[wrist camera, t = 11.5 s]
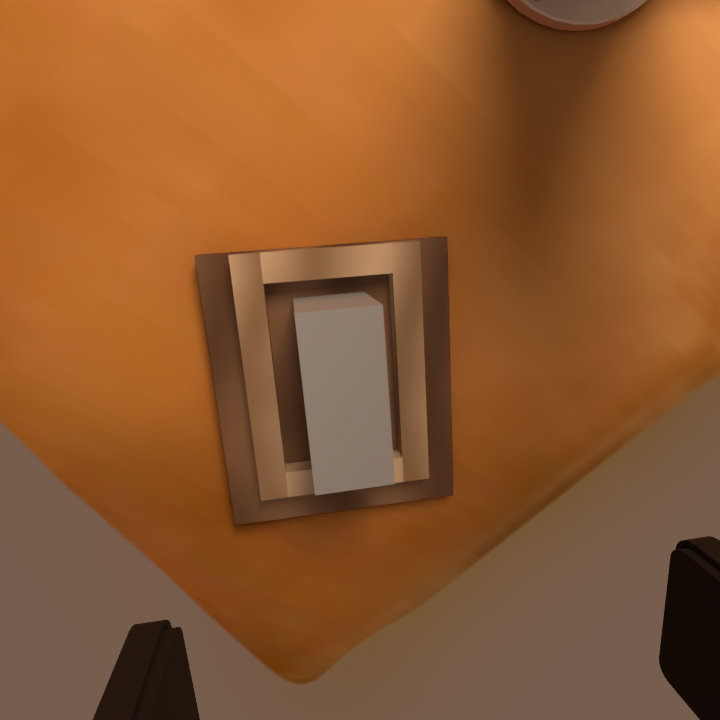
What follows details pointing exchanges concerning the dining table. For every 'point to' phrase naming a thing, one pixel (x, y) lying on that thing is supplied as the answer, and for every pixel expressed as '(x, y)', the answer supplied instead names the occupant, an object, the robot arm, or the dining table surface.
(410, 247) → the jig
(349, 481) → the grey rectangular block
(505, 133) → the dining table surface
